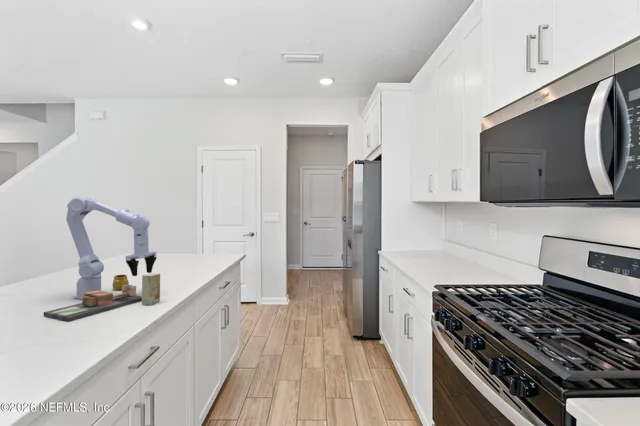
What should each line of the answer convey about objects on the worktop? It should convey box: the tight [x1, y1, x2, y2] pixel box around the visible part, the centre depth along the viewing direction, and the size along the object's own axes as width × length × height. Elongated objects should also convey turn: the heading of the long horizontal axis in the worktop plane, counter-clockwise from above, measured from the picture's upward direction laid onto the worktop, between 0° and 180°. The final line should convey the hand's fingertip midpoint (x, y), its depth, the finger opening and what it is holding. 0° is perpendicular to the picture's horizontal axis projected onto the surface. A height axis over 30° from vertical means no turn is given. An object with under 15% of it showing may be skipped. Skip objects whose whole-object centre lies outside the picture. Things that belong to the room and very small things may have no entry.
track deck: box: [43, 290, 142, 323], centre depth 140 cm, size 14×32×6 cm, turn 157°
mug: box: [112, 274, 130, 292], centre depth 173 cm, size 12×7×7 cm, turn 29°
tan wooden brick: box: [81, 284, 137, 306], centre depth 144 cm, size 6×20×4 cm, turn 157°
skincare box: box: [141, 272, 161, 306], centre depth 147 cm, size 6×4×12 cm
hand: (142, 274), depth 157 cm, fingers open, 7 cm apart
